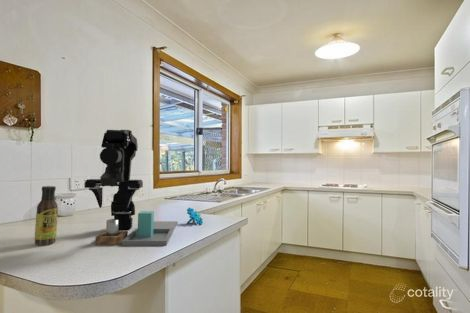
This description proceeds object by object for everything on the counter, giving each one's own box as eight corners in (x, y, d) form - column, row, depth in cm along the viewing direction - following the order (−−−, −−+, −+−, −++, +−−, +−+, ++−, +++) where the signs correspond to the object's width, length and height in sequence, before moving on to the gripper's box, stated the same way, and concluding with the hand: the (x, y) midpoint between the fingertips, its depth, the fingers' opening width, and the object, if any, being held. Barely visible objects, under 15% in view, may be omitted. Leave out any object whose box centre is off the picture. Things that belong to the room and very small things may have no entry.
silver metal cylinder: (104, 244, 98) (104, 221, 98) (108, 240, 102) (108, 218, 102) (115, 244, 98) (116, 221, 98) (119, 240, 102) (120, 218, 102)
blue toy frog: (198, 223, 126) (185, 206, 129) (188, 232, 127) (176, 215, 130) (207, 222, 136) (196, 206, 140) (199, 230, 137) (187, 214, 140)
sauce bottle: (42, 247, 93) (44, 187, 93) (30, 244, 95) (32, 186, 95) (60, 242, 99) (62, 186, 99) (48, 240, 101) (50, 185, 101)
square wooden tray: (95, 245, 95) (95, 237, 95) (104, 239, 104) (104, 231, 104) (120, 245, 96) (120, 237, 96) (127, 239, 105) (127, 231, 105)
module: (137, 237, 106) (138, 213, 106) (140, 233, 111) (141, 211, 111) (150, 236, 107) (151, 213, 107) (153, 233, 112) (154, 211, 112)
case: (121, 246, 95) (121, 241, 95) (145, 223, 131) (145, 219, 131) (166, 246, 96) (166, 240, 96) (177, 223, 132) (177, 219, 132)
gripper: (78, 164, 92) (76, 211, 91) (136, 165, 94) (135, 211, 93) (91, 163, 103) (90, 206, 102) (143, 164, 105) (142, 206, 105)
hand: (113, 207), depth 100 cm, fingers open, 9 cm apart
